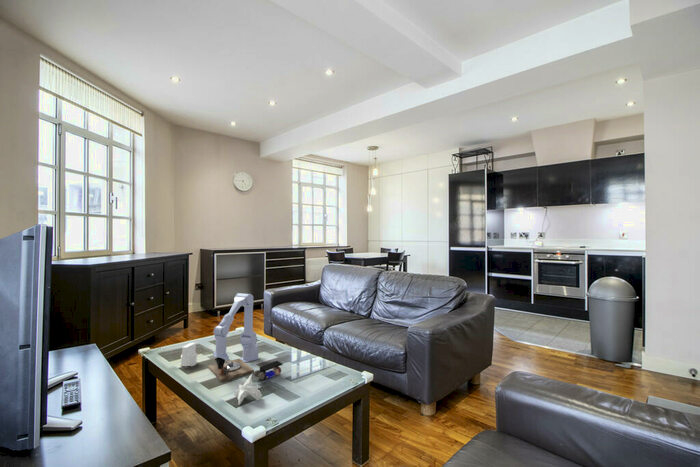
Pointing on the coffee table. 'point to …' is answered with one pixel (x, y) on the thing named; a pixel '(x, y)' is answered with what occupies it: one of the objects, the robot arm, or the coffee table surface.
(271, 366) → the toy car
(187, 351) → the cylinder with rectangular tab
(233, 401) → the coffee table surface
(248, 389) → the figurine
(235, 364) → the flange plate
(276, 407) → the coffee table surface
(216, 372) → the base board
